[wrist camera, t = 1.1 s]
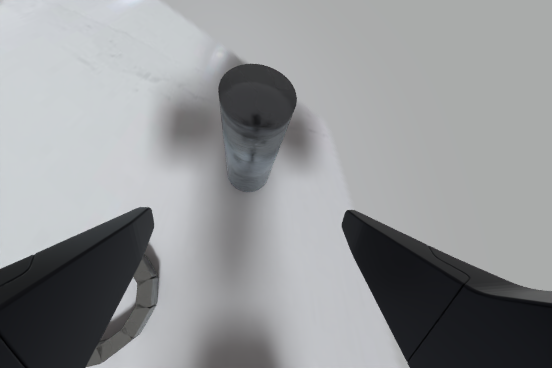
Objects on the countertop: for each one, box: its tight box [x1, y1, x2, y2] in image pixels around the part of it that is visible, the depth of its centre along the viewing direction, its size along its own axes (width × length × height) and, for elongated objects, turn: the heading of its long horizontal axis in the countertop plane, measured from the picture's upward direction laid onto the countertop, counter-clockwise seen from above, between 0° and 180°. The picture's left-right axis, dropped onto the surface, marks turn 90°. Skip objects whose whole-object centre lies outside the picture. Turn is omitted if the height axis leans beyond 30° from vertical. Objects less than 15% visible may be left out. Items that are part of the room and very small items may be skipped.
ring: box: [86, 255, 158, 367], centre depth 17 cm, size 9×9×1 cm
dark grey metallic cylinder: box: [219, 64, 297, 192], centre depth 19 cm, size 5×5×13 cm
